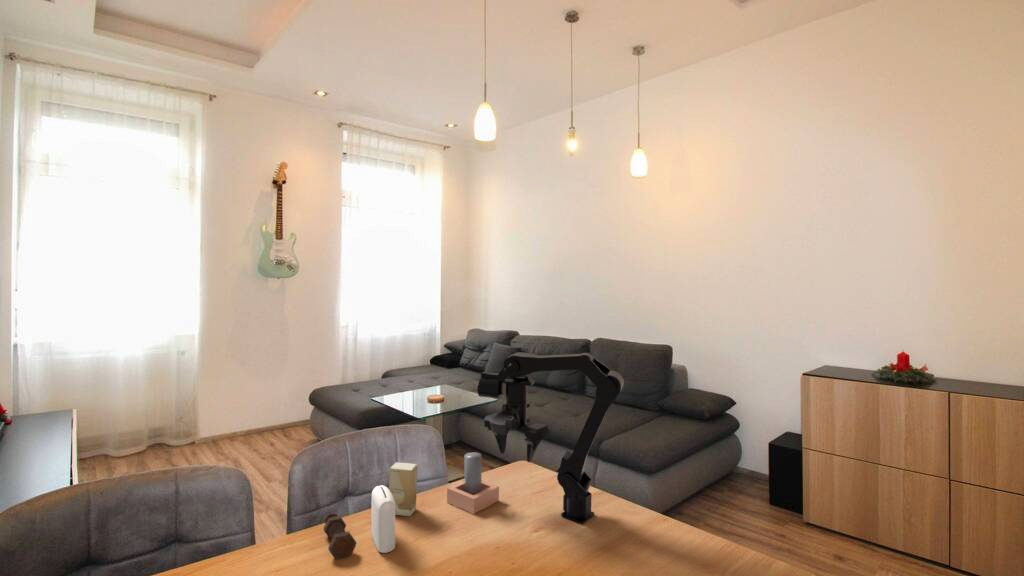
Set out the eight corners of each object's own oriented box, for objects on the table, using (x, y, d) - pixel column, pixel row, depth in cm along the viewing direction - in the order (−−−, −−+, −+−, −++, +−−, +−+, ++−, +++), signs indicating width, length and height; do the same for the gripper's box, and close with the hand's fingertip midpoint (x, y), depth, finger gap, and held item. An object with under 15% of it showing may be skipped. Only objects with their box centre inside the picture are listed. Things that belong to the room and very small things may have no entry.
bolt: (334, 533, 121) (346, 563, 107) (315, 528, 118) (325, 557, 105) (346, 510, 122) (360, 537, 109) (328, 504, 120) (339, 531, 107)
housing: (498, 500, 135) (498, 486, 135) (473, 514, 127) (473, 499, 127) (472, 490, 141) (472, 476, 141) (447, 502, 133) (447, 488, 133)
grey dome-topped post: (484, 500, 133) (484, 456, 133) (468, 504, 131) (468, 459, 130) (477, 493, 137) (477, 451, 137) (462, 497, 135) (461, 454, 134)
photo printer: (369, 533, 117) (369, 482, 117) (387, 529, 119) (387, 479, 119) (377, 555, 108) (377, 500, 108) (397, 551, 110) (397, 496, 110)
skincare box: (387, 514, 126) (388, 467, 126) (394, 506, 131) (394, 461, 130) (411, 517, 125) (411, 469, 125) (417, 509, 130) (417, 463, 129)
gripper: (470, 399, 131) (469, 457, 132) (525, 413, 119) (524, 476, 120) (497, 392, 140) (497, 446, 140) (551, 404, 128) (550, 463, 128)
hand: (515, 457), depth 132 cm, fingers open, 9 cm apart
